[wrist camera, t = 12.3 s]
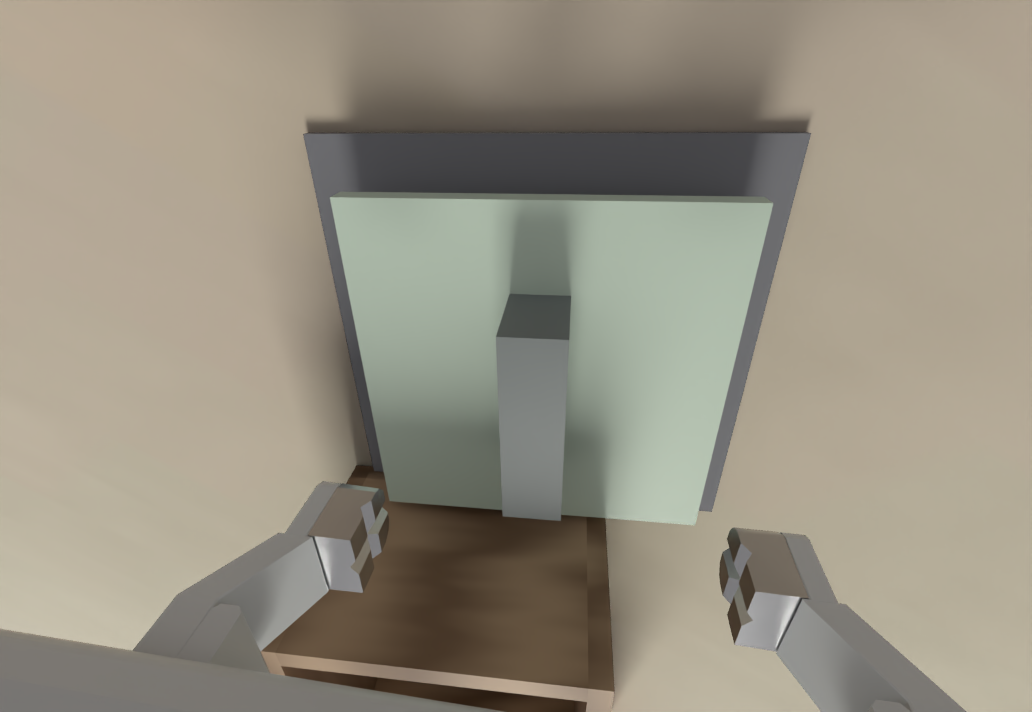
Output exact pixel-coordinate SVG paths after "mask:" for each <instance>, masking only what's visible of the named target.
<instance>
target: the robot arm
mask: <svg viewBox="0 0 1032 712" xmlns="http://www.w3.org/2000/svg"><path fill="white" fill-rule="evenodd" d="M384 502H385V495H384V491H383V490H382V489H379V488H371V487H364V486H357V485H350V484H343V483H342V484H341V483H333V482H326V481H323V482H321V483H320V484H318V485H317V486H316V488H315V489H314V491H313V492H312V494H311V495H310V497H309V498H308V500H307V501H306V502H305V504H304V505H303V507H302V508H301V510H300V511H299V513H298V514H297V516H296V517H295V519H294V520H293V522H292V523H291V525H290V526H289V528H288V529H287V531H286V532H285V533H278V534H276V535H274V536H273V537H271V538H269V539H268V540H266V541H265V542H263V543H261V544H260V545H258V546H256V547H255V548H253V549H251V550H250V551H248V552H247V553H245V554H243V555H242V556H240V557H238V558H237V559H235V560H233V561H232V562H230V563H228V564H227V565H225V566H224V567H222V568H220V569H219V570H217V571H215V572H214V573H212V574H210V575H209V576H207V577H205V578H204V579H202V580H201V581H199V582H197V583H196V584H194V585H192V586H191V587H189V588H187V589H186V590H184V591H183V592H181V593H179V594H178V595H177V596H176V597H175V598H174V599H173V601H172V602H171V603H170V604H169V606H168V607H167V608H166V609H165V611H164V612H163V613H162V614H161V616H160V617H159V618H158V619H157V621H156V622H155V623H154V624H153V626H152V627H151V628H150V629H149V631H148V632H147V633H146V634H145V636H144V637H143V638H142V639H141V641H140V642H139V643H138V644H137V646H136V647H135V648H134V649H133V651H131V650H125V649H119V648H113V647H107V646H101V645H95V644H89V643H83V642H77V641H71V640H64V639H58V638H52V637H46V636H40V635H34V634H28V633H22V632H16V631H10V630H4V629H0V712H504V711H498V710H492V709H486V708H480V707H473V706H467V705H461V704H455V703H449V702H443V701H437V700H430V699H424V698H418V697H412V696H406V695H400V694H394V693H388V692H382V691H375V690H369V689H363V688H357V687H351V686H345V685H339V684H333V683H326V682H320V681H314V680H308V679H302V678H296V677H290V676H284V675H277V674H271V673H270V672H269V668H268V666H267V664H266V662H265V660H264V658H263V656H262V653H261V651H262V650H263V649H264V648H265V647H266V646H267V645H269V644H270V643H271V642H272V641H273V640H274V639H275V638H276V637H278V636H279V635H280V634H281V633H282V632H283V631H284V630H285V629H287V628H288V627H289V626H290V625H291V624H292V623H293V622H295V621H296V620H297V619H298V618H299V617H300V616H301V615H302V614H304V613H305V612H306V611H307V610H308V609H309V608H310V607H311V606H313V605H314V604H315V603H316V602H317V601H318V600H319V599H321V598H322V597H323V596H324V595H325V594H326V593H327V592H328V591H329V590H328V589H331V590H341V591H350V592H359V593H363V592H364V590H365V588H366V586H367V584H368V581H369V579H370V577H371V575H372V572H373V570H374V563H373V558H374V557H375V556H377V555H378V554H380V553H381V552H382V550H383V548H384V545H385V543H386V540H387V535H388V531H389V516H388V512H387V511H386V510H385V509H384V508H383V507H382V506H383V504H384ZM727 540H728V544H729V549H727V550H725V551H724V552H723V553H722V557H721V561H720V572H719V576H720V585H721V589H722V594H723V596H724V597H725V598H726V600H727V601H728V602H729V603H730V604H731V606H730V608H729V611H728V614H727V615H728V620H729V624H730V628H731V632H732V636H733V640H734V644H735V645H740V646H746V647H752V648H758V649H764V650H770V651H776V652H777V653H776V654H777V655H778V657H779V658H780V659H781V660H782V662H783V663H784V664H785V666H786V667H787V668H788V669H789V671H790V672H791V673H792V675H793V676H794V677H795V678H796V680H797V681H798V682H799V684H800V685H801V686H802V687H803V689H804V690H805V691H806V693H807V694H808V695H809V696H810V698H811V699H812V700H813V702H814V703H815V704H816V705H817V707H818V708H819V709H820V711H821V712H966V711H965V710H964V709H963V708H962V707H961V706H960V705H958V704H957V703H956V702H955V701H954V700H953V699H952V698H951V697H949V696H948V695H947V694H946V693H945V692H944V691H943V690H942V689H940V688H939V687H938V686H937V685H936V684H935V683H934V682H933V681H931V680H930V679H929V678H928V677H927V676H926V675H925V674H924V673H922V672H921V671H920V670H919V669H918V668H917V667H916V666H915V665H913V664H912V663H911V662H910V661H909V660H908V659H907V658H906V657H904V656H903V655H902V654H901V653H900V652H899V651H898V650H897V649H895V648H894V647H893V646H892V645H891V644H890V643H889V642H888V641H886V640H885V639H884V638H883V637H882V636H881V635H880V634H879V633H877V632H876V631H875V630H874V629H873V628H872V627H871V626H870V625H868V624H867V623H866V622H865V621H864V620H863V619H862V618H861V617H859V616H858V615H857V614H856V613H855V612H854V611H853V610H852V609H850V608H849V607H848V606H847V605H846V604H840V603H838V601H837V599H836V597H835V595H834V593H833V590H832V588H831V586H830V584H829V582H828V579H827V577H826V575H825V573H824V571H823V568H822V566H821V564H820V562H819V560H818V557H817V555H816V553H815V551H814V549H813V546H812V544H811V542H810V540H809V539H808V538H807V537H806V536H805V535H799V534H790V533H779V532H773V531H763V530H753V529H743V528H732V529H731V530H730V532H729V535H728V538H727Z"/></svg>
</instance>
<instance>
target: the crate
mask: <svg viewBox="0 0 1032 712" xmlns="http://www.w3.org/2000/svg"><path fill="white" fill-rule="evenodd" d="M346 484H350V485H357V486H364V487H371V488H379V489H382V490H383V491H384V495H385V502H384V504H383V506H382V507H383V508H384V509H385V510H386V511H387V512H388V516H389V531H388V535H387V540H386V543H385V545H384V548H383V550H382V552H381V553H380V554H378V555H377V556H375V557H374V558H373V563H374V570H373V572H372V575H371V577H370V579H369V581H368V584H367V586H366V588H365V590H364V592H363V593H359V592H350V591H341V590H331V589H328V590H329V591H328V592H327V593H326V594H325V595H324V596H323V597H322V598H321V599H319V600H318V601H317V602H316V603H315V604H314V605H313V606H311V607H310V608H309V609H308V610H307V611H306V612H305V613H304V614H302V615H301V616H300V617H299V618H298V619H297V620H296V621H295V622H293V623H292V624H291V625H290V626H289V627H288V628H287V629H285V630H284V631H283V632H282V633H281V634H280V635H279V636H278V637H276V638H275V639H274V640H273V641H272V642H271V643H270V644H269V645H267V646H266V647H265V648H264V649H263V650H262V651H261V653H262V656H263V658H264V660H265V662H266V664H267V666H268V668H269V672H270V673H271V674H277V675H284V676H290V677H296V678H302V679H308V680H314V681H320V682H326V683H333V684H339V685H345V686H351V687H357V688H363V689H369V690H375V691H382V692H388V693H394V694H400V695H406V696H412V697H418V698H424V699H430V700H437V701H443V702H449V703H455V704H461V705H467V706H473V707H480V708H486V709H492V710H498V711H504V712H611V710H612V704H613V698H614V673H613V655H612V636H611V617H610V598H609V579H608V560H607V541H606V522H605V518H597V517H584V516H571V515H561V521H554V520H542V519H529V518H517V517H505V516H503V514H502V510H495V509H483V508H470V507H457V506H445V505H432V504H419V503H407V502H394V501H389V496H388V491H387V486H386V481H385V476H384V472H379V471H374V469H373V467H371V466H356V467H355V469H354V471H353V473H352V475H351V476H350V478H349V480H348V482H347V483H346Z"/></svg>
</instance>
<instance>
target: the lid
mask: <svg viewBox="0 0 1032 712" xmlns="http://www.w3.org/2000/svg"><path fill="white" fill-rule="evenodd" d="M330 201H331V206H332V211H333V216H334V221H335V227H336V232H337V237H338V242H339V247H340V252H341V257H342V262H343V267H344V272H345V277H346V282H347V288H348V293H349V298H350V303H351V308H352V313H353V318H354V323H355V328H356V333H357V338H358V344H359V349H360V354H361V359H362V364H363V369H364V374H365V379H366V384H367V389H368V394H369V399H370V405H371V410H372V415H373V420H374V425H375V430H376V435H377V440H378V445H379V450H380V455H381V461H382V466H383V471H384V476H385V481H386V486H387V491H388V496H389V501H394V502H407V503H419V504H432V505H445V506H457V507H470V508H483V509H495V510H502V514H503V516H505V517H517V518H529V519H542V520H554V521H561V515H571V516H584V517H597V518H609V519H622V520H635V521H647V522H660V523H673V524H685V525H695V523H696V519H697V515H698V511H699V507H700V503H701V499H702V495H703V491H704V487H705V482H706V478H707V474H708V470H709V466H710V462H711V458H712V454H713V450H714V445H715V441H716V437H717V433H718V429H719V425H720V421H721V417H722V413H723V409H724V404H725V400H726V396H727V392H728V388H729V384H730V380H731V376H732V372H733V367H734V363H735V359H736V355H737V351H738V347H739V343H740V339H741V335H742V331H743V326H744V322H745V318H746V314H747V310H748V306H749V302H750V298H751V294H752V289H753V285H754V281H755V277H756V273H757V269H758V265H759V261H760V257H761V253H762V248H763V244H764V240H765V236H766V232H767V228H768V224H769V220H770V216H771V211H772V207H773V202H771V201H770V200H768V199H767V198H766V197H747V196H663V195H579V194H495V193H411V192H339V193H337V194H335V195H333V196H331V197H330Z"/></svg>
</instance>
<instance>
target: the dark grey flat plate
mask: <svg viewBox="0 0 1032 712" xmlns="http://www.w3.org/2000/svg"><path fill="white" fill-rule="evenodd" d="M303 135H304V140H305V145H306V150H307V154H308V159H309V164H310V169H311V173H312V178H313V183H314V188H315V193H316V197H317V202H318V207H319V212H320V216H321V221H322V226H323V231H324V235H325V240H326V245H327V250H328V254H329V259H330V264H331V269H332V274H333V278H334V283H335V288H336V293H337V297H338V302H339V307H340V312H341V316H342V321H343V326H344V331H345V335H346V340H347V345H348V350H349V355H350V359H351V364H352V369H353V374H354V378H355V383H356V388H357V393H358V397H359V402H360V407H361V412H362V416H363V421H364V426H365V431H366V436H367V440H368V445H369V450H370V455H371V459H372V464H373V469H374V471H379V472H384V471H383V466H382V461H381V455H380V450H379V445H378V440H377V435H376V430H375V425H374V420H373V415H372V410H371V405H370V399H369V394H368V389H367V384H366V379H365V374H364V369H363V364H362V359H361V354H360V349H359V344H358V338H357V333H356V328H355V323H354V318H353V313H352V308H351V303H350V298H349V293H348V288H347V282H346V277H345V272H344V267H343V262H342V257H341V252H340V247H339V242H338V237H337V232H336V227H335V221H334V216H333V211H332V206H331V201H330V197H331V196H333V195H335V194H337V193H339V192H411V193H495V194H579V195H663V196H747V197H766V198H767V199H768V200H770V201H771V202H773V207H772V211H771V216H770V220H769V224H768V228H767V232H766V236H765V240H764V244H763V248H762V253H761V257H760V261H759V265H758V269H757V273H756V277H755V281H754V285H753V289H752V294H751V298H750V302H749V306H748V310H747V314H746V318H745V322H744V326H743V331H742V335H741V339H740V343H739V347H738V351H737V355H736V359H735V363H734V367H733V372H732V376H731V380H730V384H729V388H728V392H727V396H726V400H725V404H724V409H723V413H722V417H721V421H720V425H719V429H718V433H717V437H716V441H715V445H714V450H713V454H712V458H711V462H710V466H709V470H708V474H707V478H706V482H705V487H704V491H703V495H702V499H701V503H700V507H699V511H710V512H712V509H713V505H714V501H715V497H716V493H717V490H718V486H719V482H720V478H721V474H722V471H723V467H724V463H725V459H726V455H727V452H728V448H729V444H730V440H731V436H732V433H733V429H734V425H735V421H736V417H737V413H738V410H739V406H740V402H741V398H742V394H743V391H744V387H745V383H746V379H747V375H748V372H749V368H750V364H751V360H752V356H753V352H754V349H755V345H756V341H757V337H758V333H759V330H760V326H761V322H762V318H763V314H764V311H765V307H766V303H767V299H768V295H769V292H770V288H771V284H772V280H773V276H774V272H775V269H776V265H777V261H778V257H779V253H780V250H781V246H782V242H783V238H784V234H785V231H786V227H787V223H788V219H789V215H790V211H791V208H792V204H793V200H794V196H795V192H796V189H797V185H798V181H799V177H800V173H801V170H802V166H803V162H804V158H805V154H806V150H807V147H808V143H809V139H810V135H811V133H808V132H675V133H305V134H303Z"/></svg>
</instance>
